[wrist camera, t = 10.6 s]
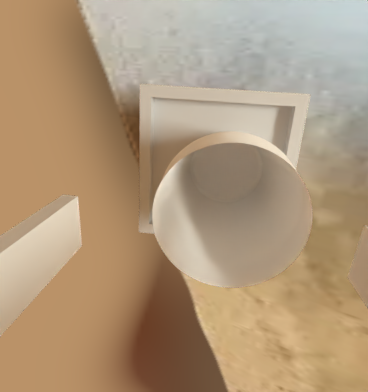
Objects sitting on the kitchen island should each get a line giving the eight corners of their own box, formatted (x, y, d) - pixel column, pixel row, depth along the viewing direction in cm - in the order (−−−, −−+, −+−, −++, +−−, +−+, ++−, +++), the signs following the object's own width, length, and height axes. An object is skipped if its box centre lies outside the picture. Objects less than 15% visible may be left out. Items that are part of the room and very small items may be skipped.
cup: (166, 194, 29) (131, 260, 17) (196, 104, 25) (176, 113, 14) (252, 224, 28) (272, 310, 17) (292, 138, 25) (349, 174, 14)
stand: (161, 86, 33) (139, 83, 24) (285, 94, 32) (310, 94, 23) (158, 199, 38) (138, 231, 29) (265, 209, 37) (280, 247, 28)
